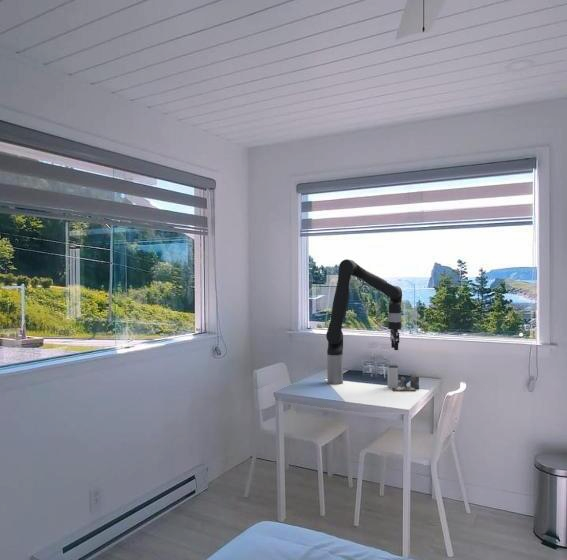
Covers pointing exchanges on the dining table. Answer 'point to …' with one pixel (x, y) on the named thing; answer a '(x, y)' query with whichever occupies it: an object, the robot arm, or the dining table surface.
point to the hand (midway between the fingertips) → (394, 348)
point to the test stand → (413, 383)
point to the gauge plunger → (403, 382)
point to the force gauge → (392, 376)
